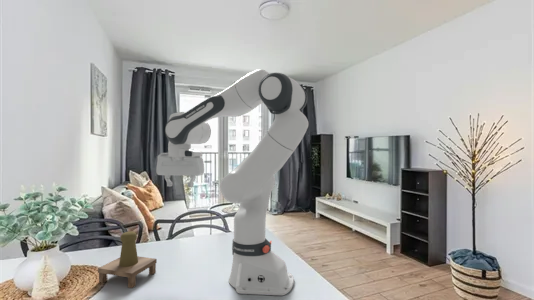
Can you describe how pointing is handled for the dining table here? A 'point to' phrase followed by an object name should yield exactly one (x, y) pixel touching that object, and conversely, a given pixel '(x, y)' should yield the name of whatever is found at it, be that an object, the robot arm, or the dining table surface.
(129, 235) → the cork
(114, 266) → the walnut stand
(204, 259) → the dining table surface
